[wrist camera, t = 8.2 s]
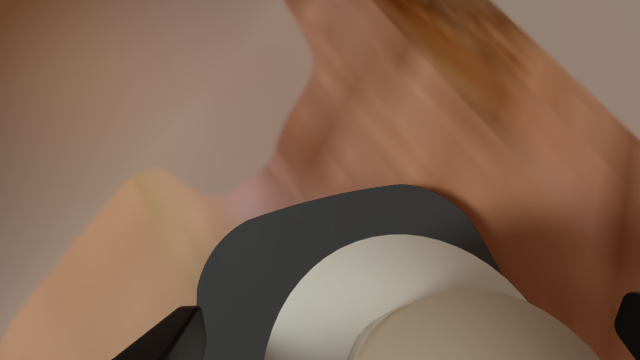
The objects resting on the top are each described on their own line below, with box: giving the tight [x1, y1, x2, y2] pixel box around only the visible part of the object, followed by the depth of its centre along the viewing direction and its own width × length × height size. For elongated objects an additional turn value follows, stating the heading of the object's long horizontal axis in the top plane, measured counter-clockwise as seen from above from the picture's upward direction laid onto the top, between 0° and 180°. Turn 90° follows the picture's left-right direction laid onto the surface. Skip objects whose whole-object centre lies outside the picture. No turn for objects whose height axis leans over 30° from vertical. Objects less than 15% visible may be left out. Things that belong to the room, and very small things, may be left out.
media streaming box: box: [197, 184, 503, 360], centre depth 15 cm, size 15×15×3 cm
